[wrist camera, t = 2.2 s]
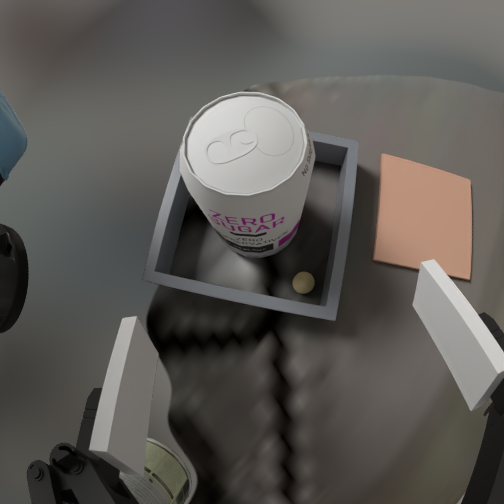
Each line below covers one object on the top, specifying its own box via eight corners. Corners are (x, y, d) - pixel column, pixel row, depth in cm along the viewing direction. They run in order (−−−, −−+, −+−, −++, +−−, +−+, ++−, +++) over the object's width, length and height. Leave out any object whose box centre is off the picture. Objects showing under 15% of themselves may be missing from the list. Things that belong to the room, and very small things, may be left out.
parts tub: (157, 284, 31) (142, 279, 27) (199, 136, 34) (190, 116, 30) (327, 320, 29) (335, 320, 25) (350, 160, 32) (358, 141, 28)
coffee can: (202, 508, 25) (167, 588, 12) (123, 503, 26) (65, 562, 12) (180, 433, 27) (121, 499, 14) (97, 432, 28) (19, 475, 14)
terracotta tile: (372, 260, 30) (373, 259, 29) (380, 155, 32) (382, 153, 31) (467, 280, 28) (469, 279, 28) (467, 181, 30) (470, 180, 30)
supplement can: (276, 168, 32) (275, 69, 18) (313, 237, 30) (345, 170, 16) (205, 200, 32) (156, 117, 17) (237, 273, 30) (203, 233, 16)
